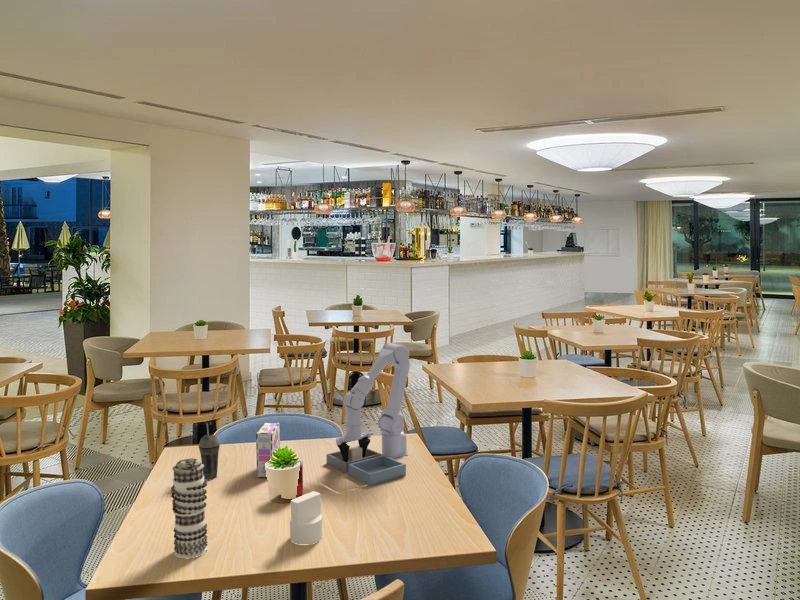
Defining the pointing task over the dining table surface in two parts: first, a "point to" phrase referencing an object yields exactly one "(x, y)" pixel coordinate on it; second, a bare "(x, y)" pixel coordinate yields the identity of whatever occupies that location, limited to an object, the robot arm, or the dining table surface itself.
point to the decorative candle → (189, 508)
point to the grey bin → (337, 462)
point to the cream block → (354, 453)
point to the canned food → (300, 481)
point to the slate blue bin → (377, 469)
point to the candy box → (266, 445)
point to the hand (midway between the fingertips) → (353, 459)
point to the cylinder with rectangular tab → (306, 519)
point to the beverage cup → (209, 454)
